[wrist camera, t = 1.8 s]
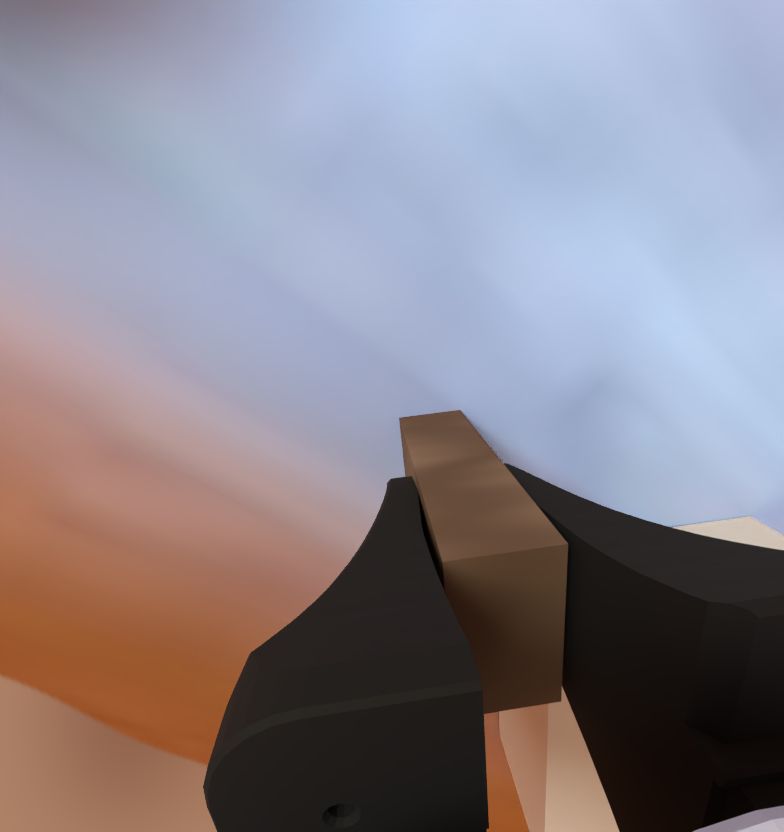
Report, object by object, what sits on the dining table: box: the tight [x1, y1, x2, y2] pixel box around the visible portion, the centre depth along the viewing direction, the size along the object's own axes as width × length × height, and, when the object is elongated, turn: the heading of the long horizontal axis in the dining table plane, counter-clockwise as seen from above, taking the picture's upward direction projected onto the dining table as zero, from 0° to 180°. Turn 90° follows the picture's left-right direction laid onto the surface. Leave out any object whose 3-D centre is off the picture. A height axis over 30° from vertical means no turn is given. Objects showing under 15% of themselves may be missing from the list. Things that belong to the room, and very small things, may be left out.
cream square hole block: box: [499, 516, 784, 832], centre depth 14 cm, size 10×10×4 cm
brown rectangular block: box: [399, 410, 568, 714], centre depth 10 cm, size 2×4×7 cm, turn 6°
